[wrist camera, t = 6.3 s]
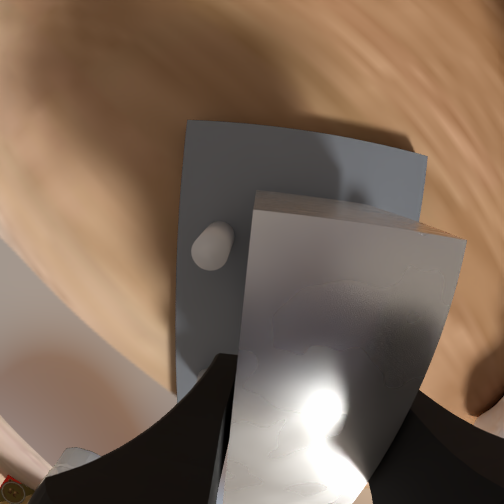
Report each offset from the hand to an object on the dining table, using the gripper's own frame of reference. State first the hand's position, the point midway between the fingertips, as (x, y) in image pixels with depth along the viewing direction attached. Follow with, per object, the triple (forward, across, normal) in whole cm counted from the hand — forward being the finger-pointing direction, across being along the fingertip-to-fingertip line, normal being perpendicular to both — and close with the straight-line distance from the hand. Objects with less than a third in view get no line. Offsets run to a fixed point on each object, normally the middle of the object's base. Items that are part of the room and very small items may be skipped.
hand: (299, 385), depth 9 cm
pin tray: (+5, 0, 0) cm, 5 cm away
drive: (+3, 0, -1) cm, 3 cm away
